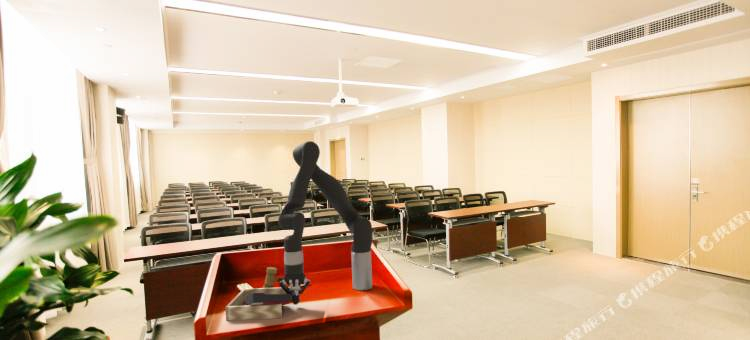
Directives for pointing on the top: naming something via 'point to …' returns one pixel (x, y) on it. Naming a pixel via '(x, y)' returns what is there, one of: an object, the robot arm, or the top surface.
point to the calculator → (267, 299)
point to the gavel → (272, 278)
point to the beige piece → (254, 306)
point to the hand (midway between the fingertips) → (295, 303)
